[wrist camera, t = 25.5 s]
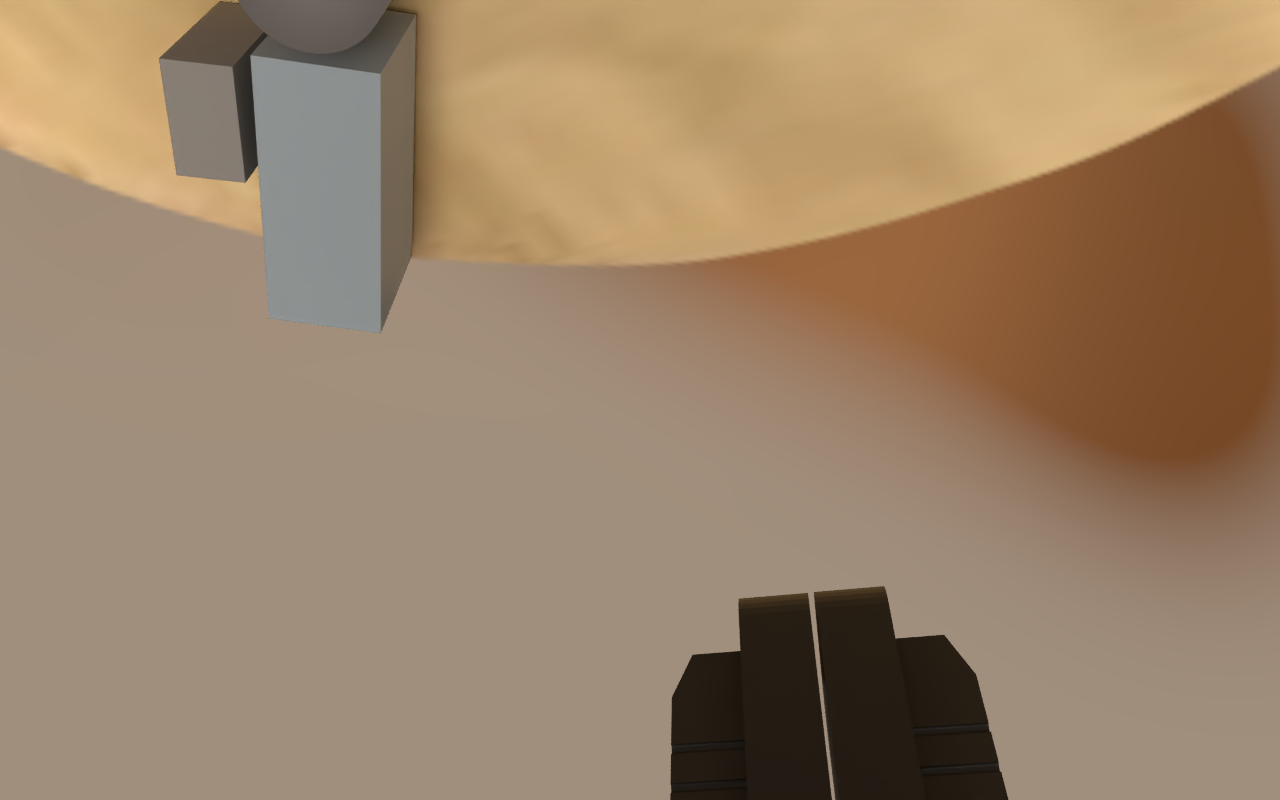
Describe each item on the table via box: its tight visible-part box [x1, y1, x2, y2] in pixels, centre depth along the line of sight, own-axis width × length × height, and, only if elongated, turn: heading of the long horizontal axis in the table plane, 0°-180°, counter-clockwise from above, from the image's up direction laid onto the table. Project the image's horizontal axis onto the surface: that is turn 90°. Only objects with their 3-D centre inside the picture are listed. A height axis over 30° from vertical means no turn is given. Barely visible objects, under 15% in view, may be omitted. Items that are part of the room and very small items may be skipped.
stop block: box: [159, 1, 268, 183], centre depth 34 cm, size 2×4×5 cm, turn 174°
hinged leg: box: [238, 0, 416, 333], centre depth 34 cm, size 13×4×6 cm, turn 172°
